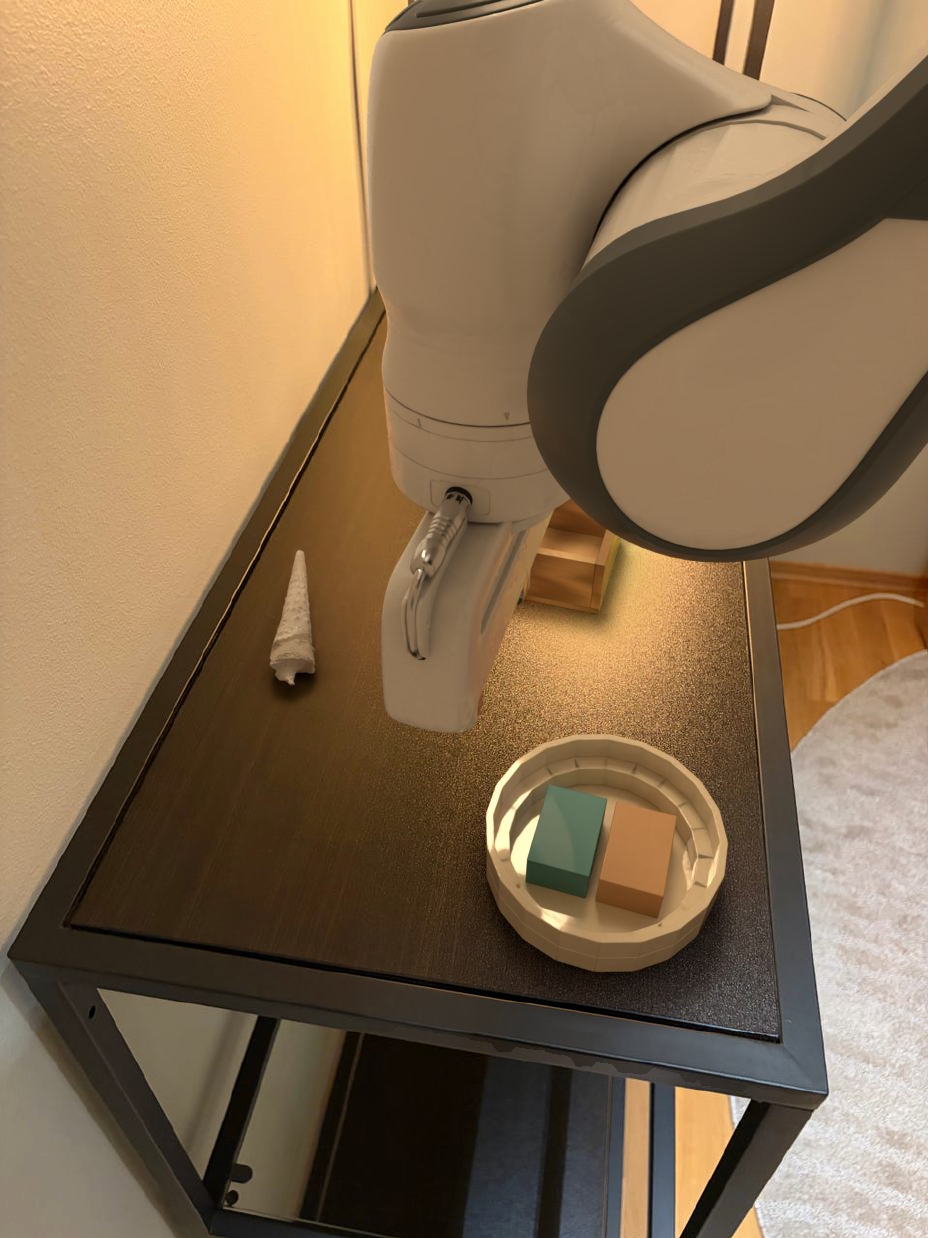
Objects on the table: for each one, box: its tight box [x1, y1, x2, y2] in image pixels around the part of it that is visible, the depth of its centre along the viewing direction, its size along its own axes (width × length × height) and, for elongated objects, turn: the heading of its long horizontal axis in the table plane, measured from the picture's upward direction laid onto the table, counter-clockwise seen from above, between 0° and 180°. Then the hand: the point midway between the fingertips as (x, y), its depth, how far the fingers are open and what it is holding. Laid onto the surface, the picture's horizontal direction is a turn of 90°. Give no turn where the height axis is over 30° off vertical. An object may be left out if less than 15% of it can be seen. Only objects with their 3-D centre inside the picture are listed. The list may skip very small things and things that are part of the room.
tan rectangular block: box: [595, 802, 677, 918], centre depth 56 cm, size 4×6×3 cm, turn 162°
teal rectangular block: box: [525, 784, 607, 898], centre depth 57 cm, size 4×6×3 cm, turn 162°
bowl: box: [485, 733, 729, 973], centre depth 56 cm, size 15×15×4 cm
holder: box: [524, 498, 622, 615], centre depth 78 cm, size 13×11×6 cm
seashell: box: [269, 549, 316, 686], centre depth 72 cm, size 14×4×4 cm
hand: (488, 651), depth 47 cm, fingers open, 8 cm apart
